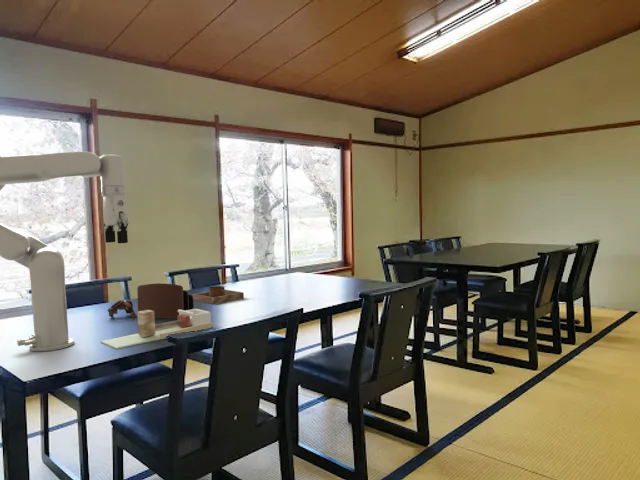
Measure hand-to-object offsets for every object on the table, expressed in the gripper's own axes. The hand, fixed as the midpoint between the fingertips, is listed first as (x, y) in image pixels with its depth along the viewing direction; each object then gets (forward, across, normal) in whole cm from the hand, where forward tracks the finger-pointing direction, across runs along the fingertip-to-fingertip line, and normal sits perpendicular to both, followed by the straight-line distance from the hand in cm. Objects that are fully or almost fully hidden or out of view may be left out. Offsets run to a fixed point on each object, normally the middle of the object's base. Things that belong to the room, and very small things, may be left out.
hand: (116, 242), depth 164 cm
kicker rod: (+31, -8, -11) cm, 34 cm away
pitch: (+32, -8, -10) cm, 35 cm away
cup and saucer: (+33, +31, -59) cm, 75 cm away
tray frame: (+32, +31, -60) cm, 75 cm away
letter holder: (+33, +18, -26) cm, 46 cm away
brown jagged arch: (+33, +31, -14) cm, 47 cm away
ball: (+30, -8, -22) cm, 38 cm away
